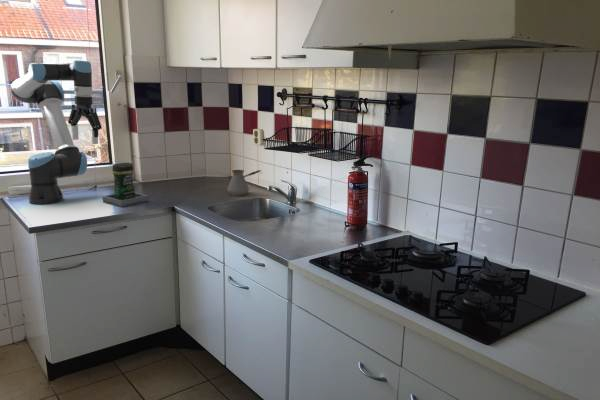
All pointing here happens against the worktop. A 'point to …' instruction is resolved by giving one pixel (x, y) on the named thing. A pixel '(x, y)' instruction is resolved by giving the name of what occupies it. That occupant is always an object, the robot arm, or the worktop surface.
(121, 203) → the grey shallow rectangular tray
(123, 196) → the coffee jar
